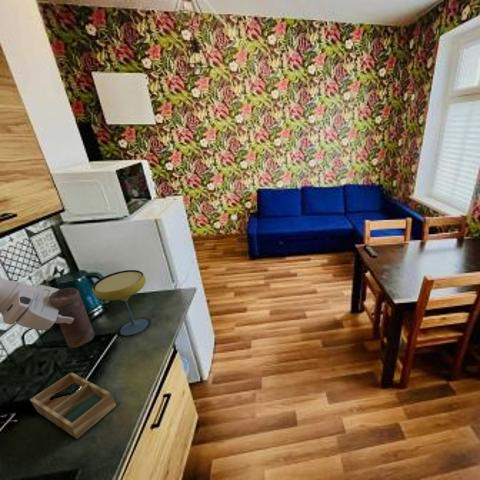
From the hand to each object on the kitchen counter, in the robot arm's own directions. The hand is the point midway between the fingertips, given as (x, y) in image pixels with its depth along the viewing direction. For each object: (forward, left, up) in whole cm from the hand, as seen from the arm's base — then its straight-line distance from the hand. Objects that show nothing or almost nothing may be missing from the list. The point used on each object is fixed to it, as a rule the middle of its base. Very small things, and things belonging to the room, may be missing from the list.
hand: (74, 313), depth 89 cm
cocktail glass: (-11, +21, -26) cm, 35 cm away
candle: (0, -1, -12) cm, 12 cm away
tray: (+9, -12, -26) cm, 30 cm away
